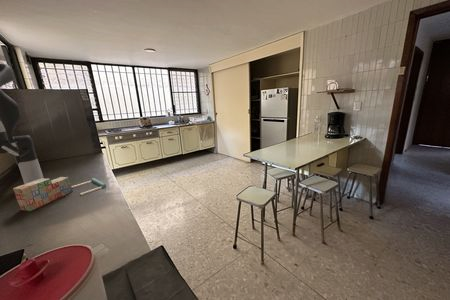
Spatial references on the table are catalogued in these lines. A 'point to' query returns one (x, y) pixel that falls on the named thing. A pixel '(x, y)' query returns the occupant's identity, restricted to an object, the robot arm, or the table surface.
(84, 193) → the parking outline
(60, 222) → the table surface
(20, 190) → the stack of blocks
